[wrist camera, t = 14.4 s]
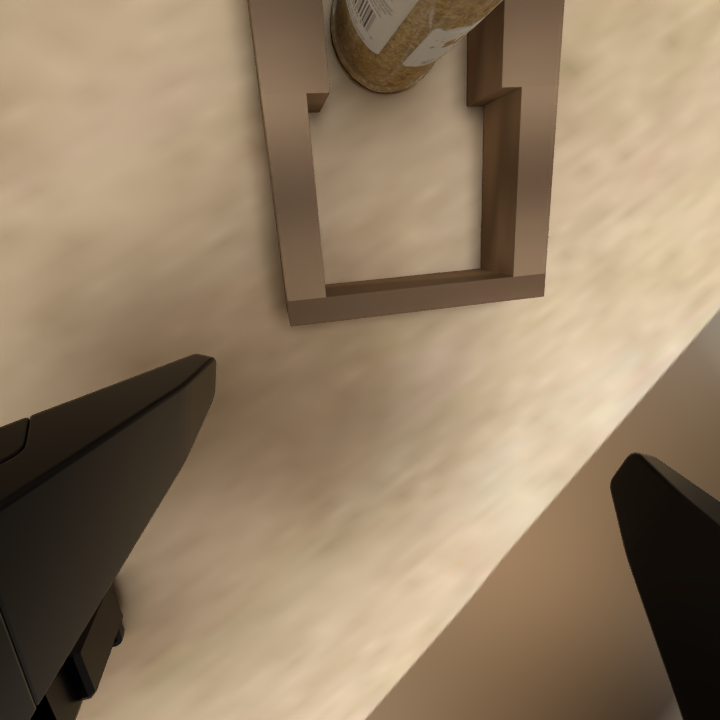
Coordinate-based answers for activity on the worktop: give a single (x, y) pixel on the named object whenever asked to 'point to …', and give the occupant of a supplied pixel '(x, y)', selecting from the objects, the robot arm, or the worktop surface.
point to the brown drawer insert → (500, 159)
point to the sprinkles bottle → (400, 37)
